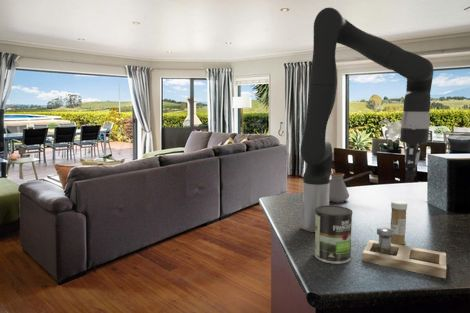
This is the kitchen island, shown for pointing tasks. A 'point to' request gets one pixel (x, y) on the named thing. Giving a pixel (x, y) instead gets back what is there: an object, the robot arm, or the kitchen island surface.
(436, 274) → the bolt-hole plate
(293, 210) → the kitchen island surface
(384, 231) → the grey metal bolt
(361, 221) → the kitchen island surface
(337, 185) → the coffee pot
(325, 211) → the coffee can
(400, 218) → the sprinkles bottle
